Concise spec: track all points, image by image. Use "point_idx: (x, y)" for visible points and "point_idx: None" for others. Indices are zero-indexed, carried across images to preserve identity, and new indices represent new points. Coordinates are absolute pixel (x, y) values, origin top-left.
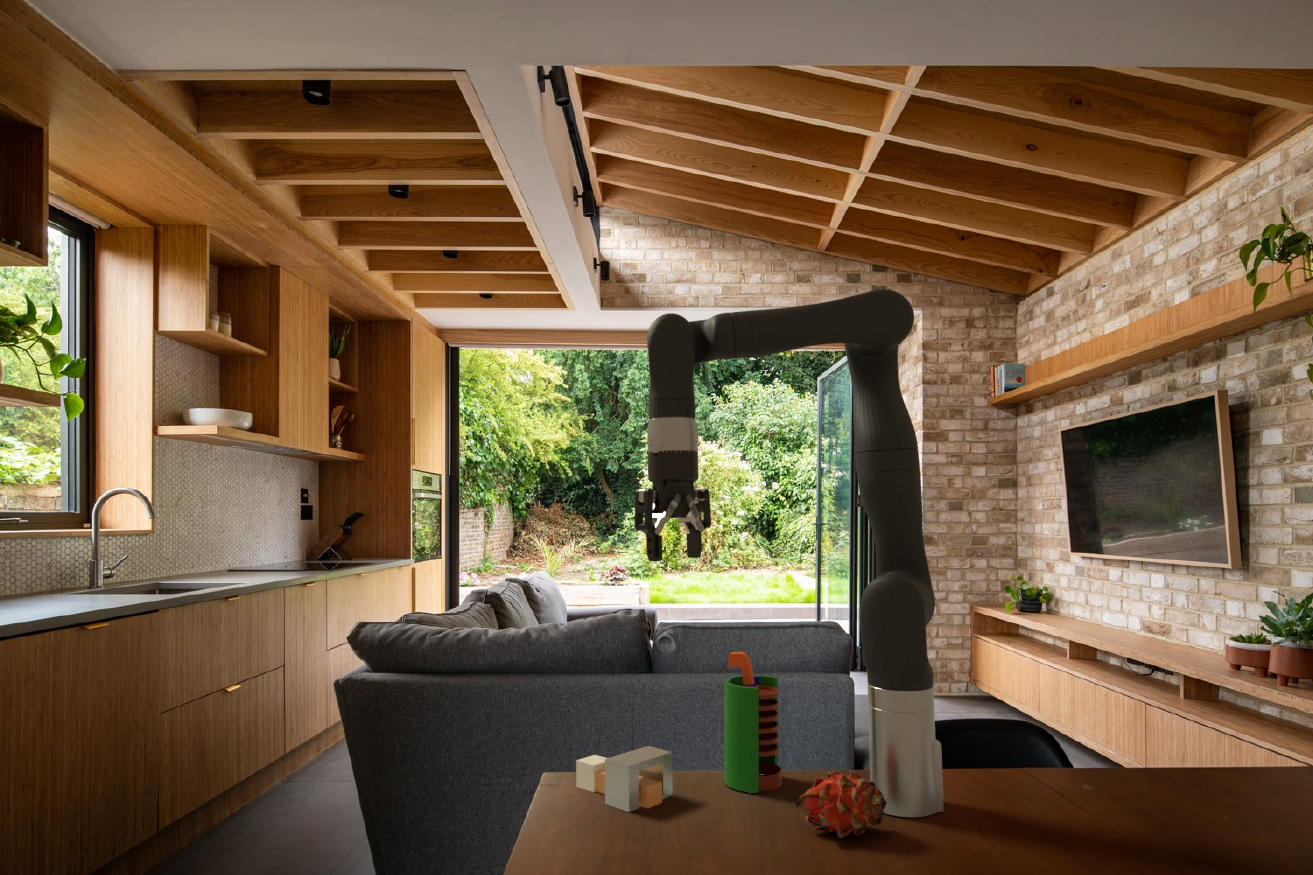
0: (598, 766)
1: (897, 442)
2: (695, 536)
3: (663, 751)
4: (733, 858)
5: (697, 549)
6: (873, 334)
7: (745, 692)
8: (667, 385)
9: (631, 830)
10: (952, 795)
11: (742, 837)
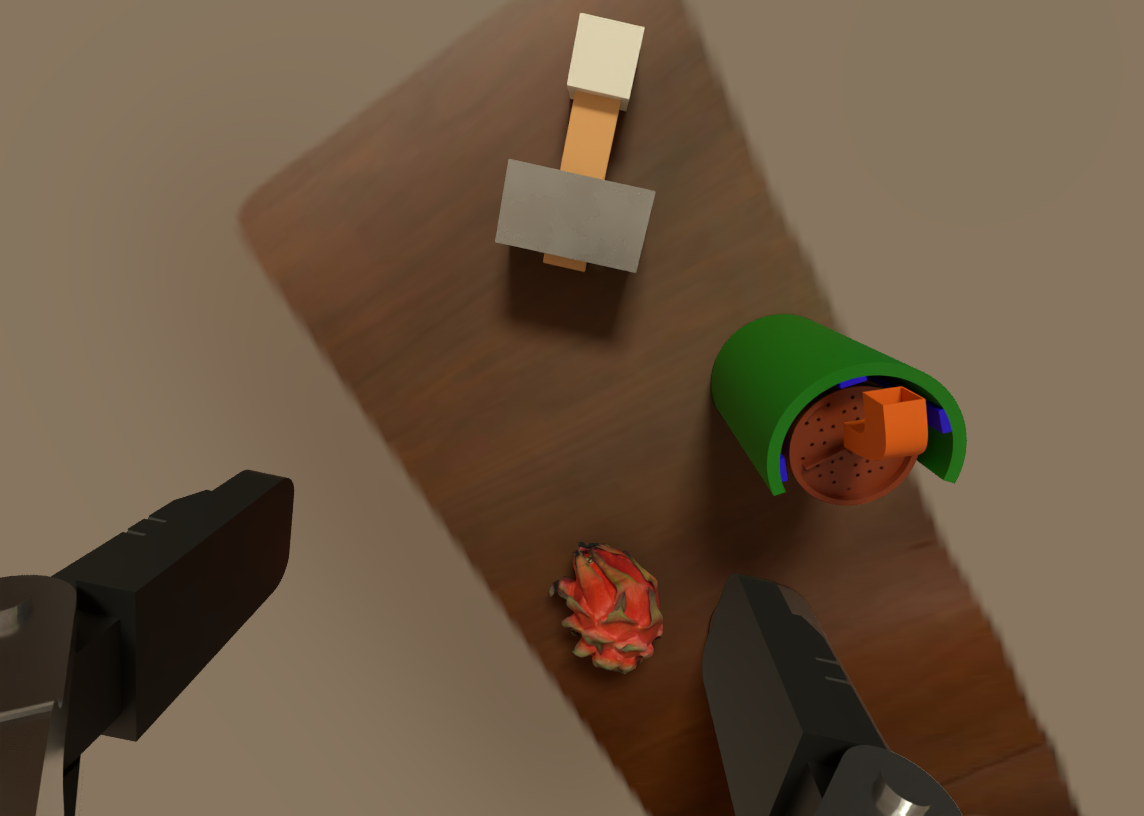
0: (582, 90)
1: None
2: (745, 808)
3: (630, 252)
4: (437, 484)
5: (711, 714)
6: None
7: (763, 458)
8: None
9: (440, 294)
10: (850, 674)
11: (514, 464)
